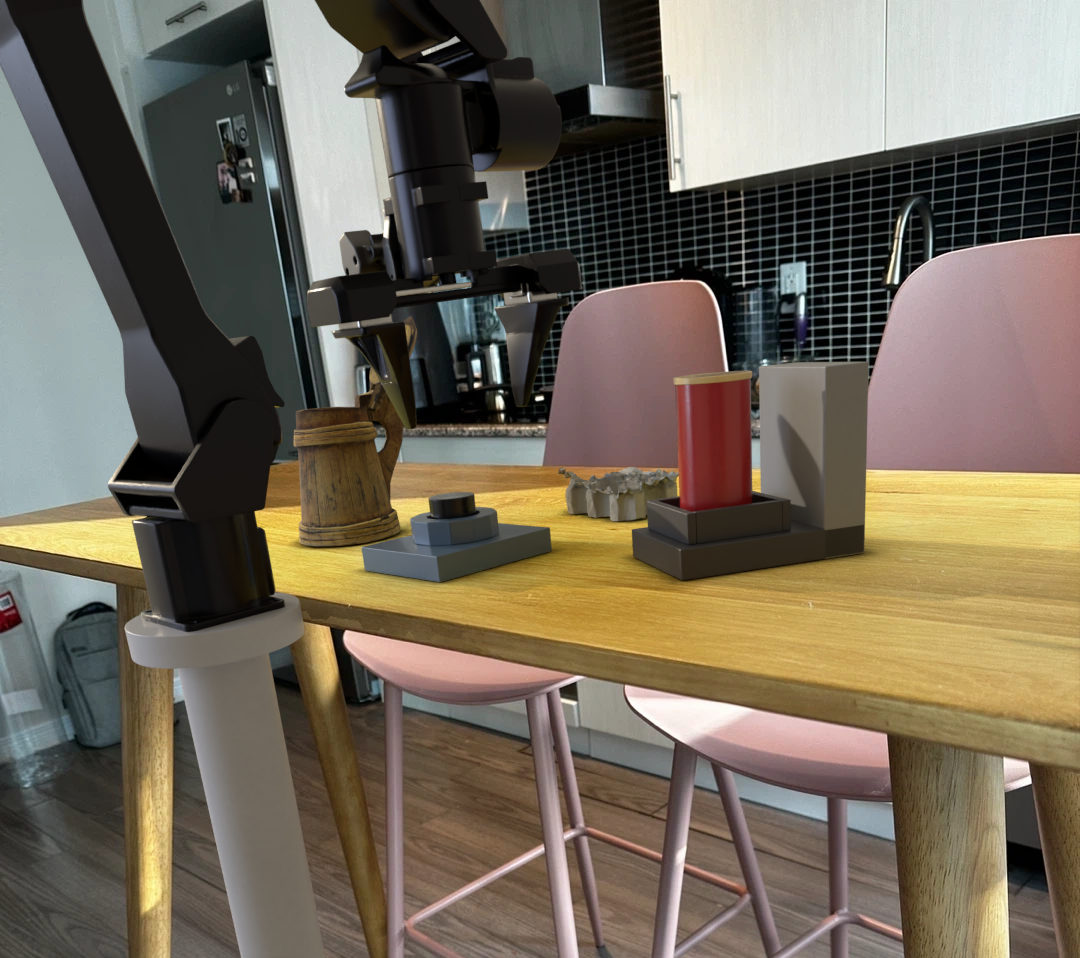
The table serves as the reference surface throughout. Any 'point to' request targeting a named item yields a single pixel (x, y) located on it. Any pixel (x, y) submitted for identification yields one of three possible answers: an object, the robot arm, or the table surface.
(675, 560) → the coffee maker
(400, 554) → the control pad
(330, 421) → the wooden mug
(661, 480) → the egg carton
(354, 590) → the table surface
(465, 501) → the button
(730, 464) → the red cylinder
